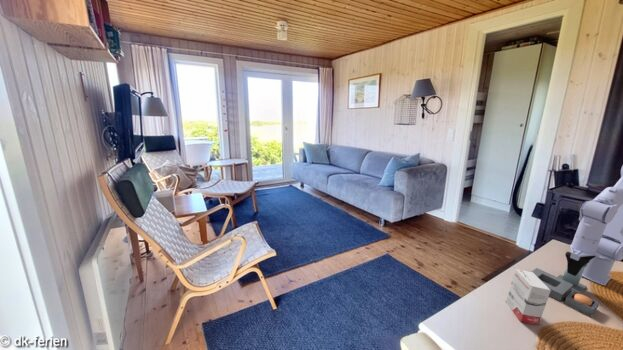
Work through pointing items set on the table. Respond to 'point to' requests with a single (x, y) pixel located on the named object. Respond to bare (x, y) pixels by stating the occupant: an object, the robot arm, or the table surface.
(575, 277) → the cylinder
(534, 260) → the table surface
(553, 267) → the table surface
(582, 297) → the release button
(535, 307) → the ink box
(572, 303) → the button housing
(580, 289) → the slate mat
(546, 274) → the socket block
